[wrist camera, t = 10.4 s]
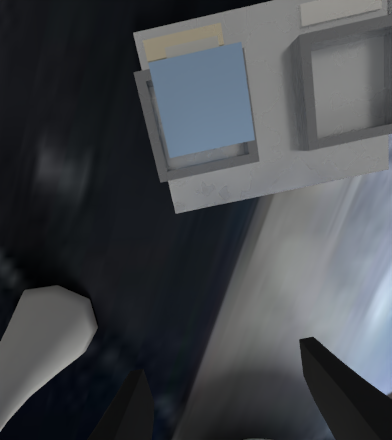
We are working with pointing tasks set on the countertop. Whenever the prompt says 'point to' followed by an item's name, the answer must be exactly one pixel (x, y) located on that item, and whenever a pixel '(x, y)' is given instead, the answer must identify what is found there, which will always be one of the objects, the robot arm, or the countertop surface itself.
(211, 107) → the plug
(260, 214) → the countertop surface
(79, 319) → the flask
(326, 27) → the panel
